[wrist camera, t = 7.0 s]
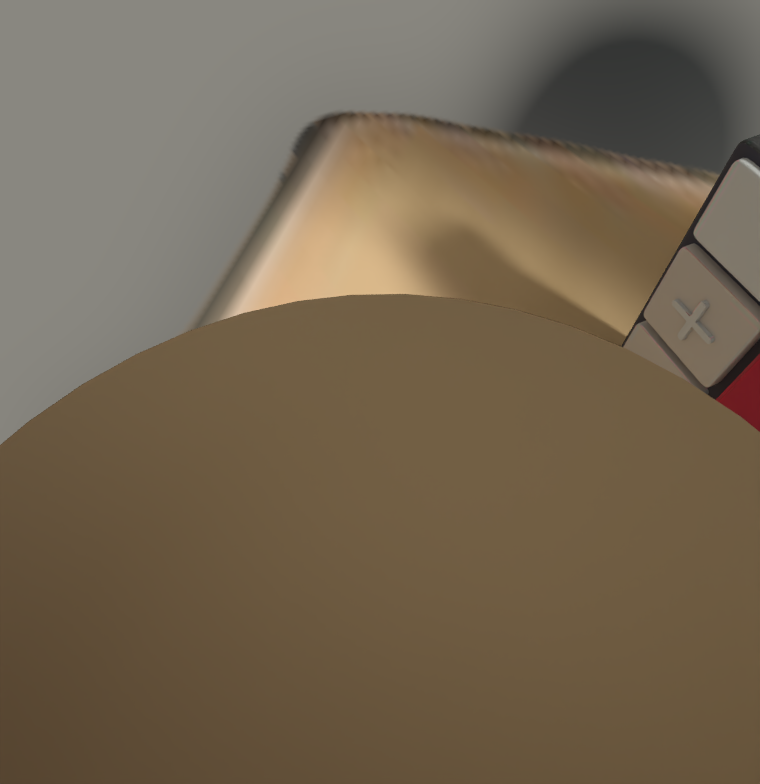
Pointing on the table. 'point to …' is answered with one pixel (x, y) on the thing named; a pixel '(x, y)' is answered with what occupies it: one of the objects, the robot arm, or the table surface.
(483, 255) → the table surface
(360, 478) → the peg
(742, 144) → the calculator
